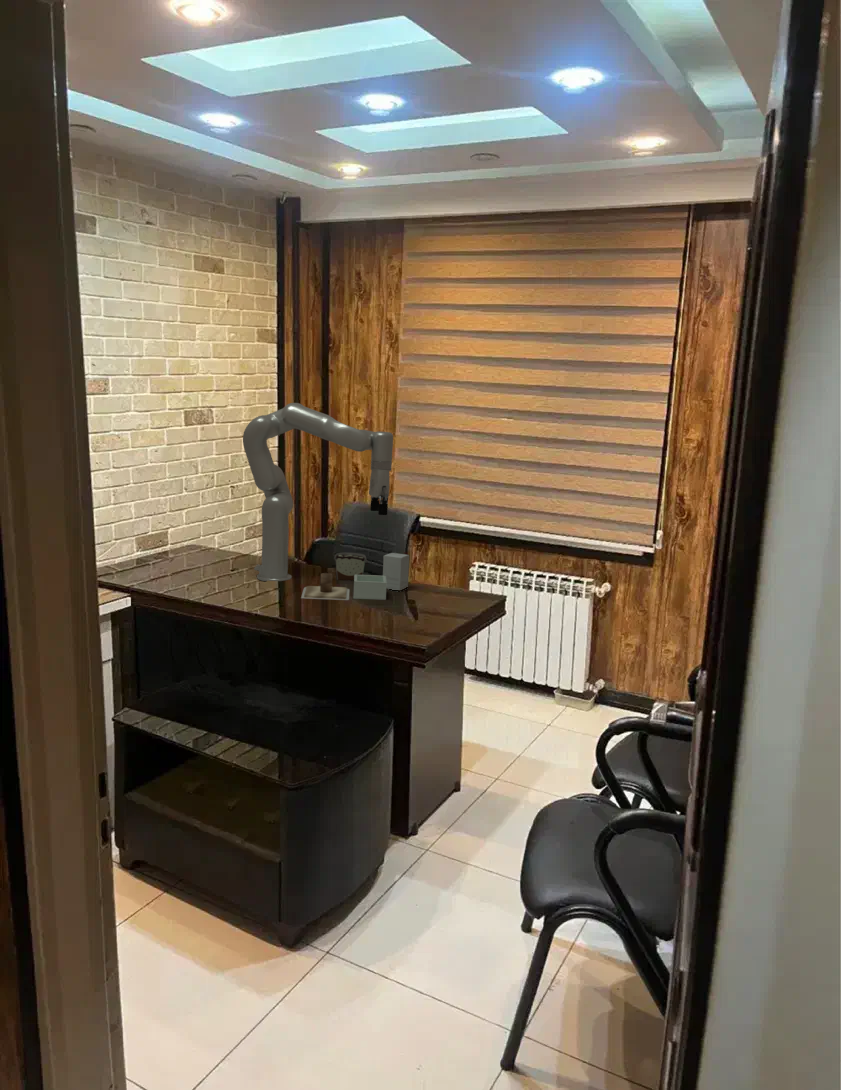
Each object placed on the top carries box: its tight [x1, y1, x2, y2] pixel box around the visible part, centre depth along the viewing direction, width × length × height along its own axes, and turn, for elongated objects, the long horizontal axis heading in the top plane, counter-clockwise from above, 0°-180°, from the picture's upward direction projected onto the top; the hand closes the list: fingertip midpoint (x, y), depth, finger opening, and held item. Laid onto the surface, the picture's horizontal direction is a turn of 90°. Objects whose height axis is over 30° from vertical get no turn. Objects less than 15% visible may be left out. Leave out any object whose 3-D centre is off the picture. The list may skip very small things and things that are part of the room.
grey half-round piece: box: [333, 552, 367, 581], centre depth 307 cm, size 12×6×10 cm, turn 84°
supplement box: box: [382, 552, 410, 591], centre depth 297 cm, size 7×7×13 cm
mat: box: [300, 586, 350, 601], centre depth 282 cm, size 16×16×1 cm
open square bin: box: [352, 574, 387, 601], centre depth 283 cm, size 11×11×6 cm
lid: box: [303, 572, 348, 600], centre depth 282 cm, size 14×14×7 cm
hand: (378, 512), depth 299 cm, fingers open, 9 cm apart
